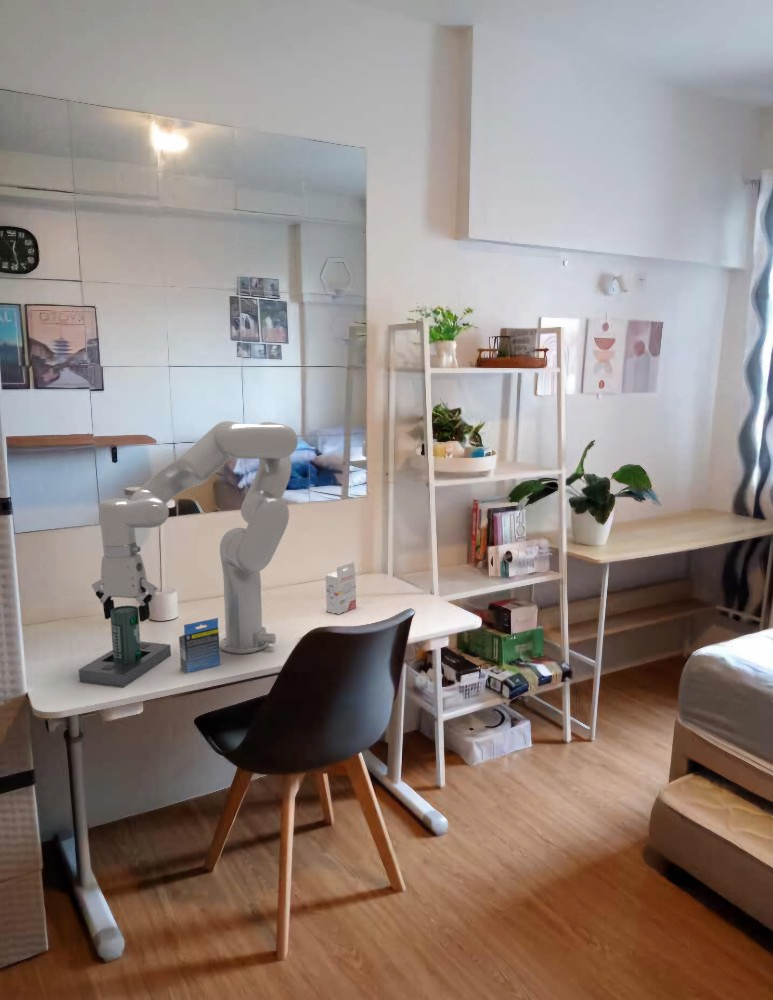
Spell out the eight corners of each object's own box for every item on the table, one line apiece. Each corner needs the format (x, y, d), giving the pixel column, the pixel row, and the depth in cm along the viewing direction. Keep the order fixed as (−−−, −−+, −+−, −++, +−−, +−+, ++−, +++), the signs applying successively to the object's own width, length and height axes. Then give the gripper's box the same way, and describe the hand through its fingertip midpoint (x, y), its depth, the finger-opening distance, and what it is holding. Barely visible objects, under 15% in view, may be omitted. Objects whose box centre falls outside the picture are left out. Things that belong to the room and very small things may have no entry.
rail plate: (170, 655, 193) (170, 644, 192) (124, 687, 174) (123, 674, 173) (130, 651, 196) (129, 639, 196) (79, 681, 177) (78, 669, 177)
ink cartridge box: (344, 605, 234) (343, 559, 231) (356, 608, 231) (356, 561, 228) (325, 612, 227) (324, 564, 225) (338, 615, 224) (337, 567, 222)
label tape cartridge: (214, 660, 190) (212, 613, 188) (220, 665, 187) (218, 617, 185) (180, 668, 185) (177, 620, 182) (186, 674, 182) (183, 625, 179)
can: (145, 668, 185) (142, 609, 182) (121, 675, 181) (118, 615, 178) (133, 661, 189) (130, 604, 187) (110, 668, 185) (106, 609, 182)
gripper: (160, 547, 181) (167, 615, 184) (99, 545, 186) (106, 611, 189) (142, 556, 174) (149, 626, 177) (79, 553, 179) (86, 621, 182)
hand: (127, 618), depth 183 cm, fingers open, 9 cm apart
